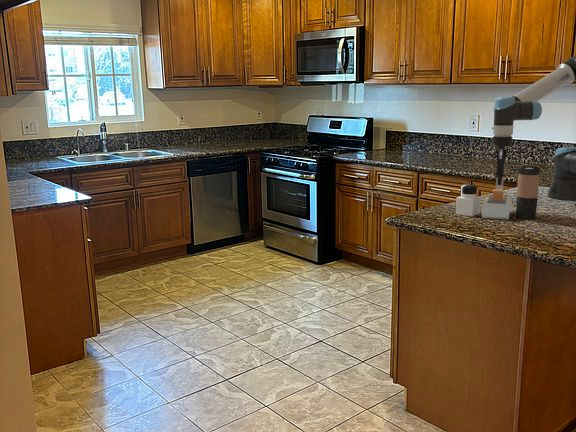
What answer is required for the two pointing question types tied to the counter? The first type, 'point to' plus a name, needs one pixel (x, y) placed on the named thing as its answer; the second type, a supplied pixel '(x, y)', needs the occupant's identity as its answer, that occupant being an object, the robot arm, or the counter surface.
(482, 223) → the counter surface
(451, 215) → the counter surface
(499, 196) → the toggle
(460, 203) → the medicine bottle
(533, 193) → the travel mug
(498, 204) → the grey boxy piece
